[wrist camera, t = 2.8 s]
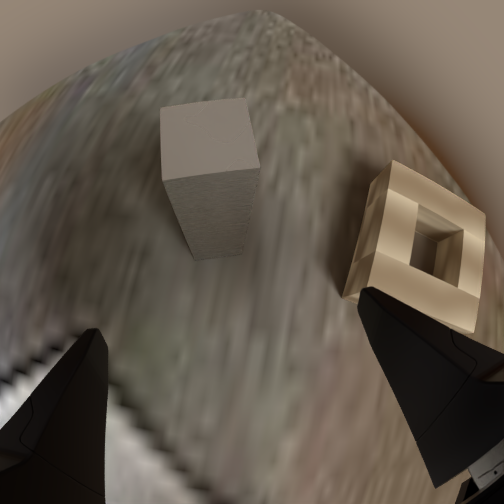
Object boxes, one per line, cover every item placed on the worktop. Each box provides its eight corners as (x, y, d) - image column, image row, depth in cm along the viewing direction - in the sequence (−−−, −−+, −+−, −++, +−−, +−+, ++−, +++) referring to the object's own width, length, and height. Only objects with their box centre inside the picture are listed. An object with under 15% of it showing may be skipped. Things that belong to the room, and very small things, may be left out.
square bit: (241, 254, 23) (260, 167, 11) (195, 260, 23) (162, 180, 10) (234, 210, 24) (245, 97, 12) (189, 216, 24) (160, 108, 11)
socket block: (441, 334, 23) (473, 332, 19) (341, 298, 23) (365, 290, 19) (457, 229, 26) (485, 214, 22) (370, 183, 26) (392, 159, 22)
